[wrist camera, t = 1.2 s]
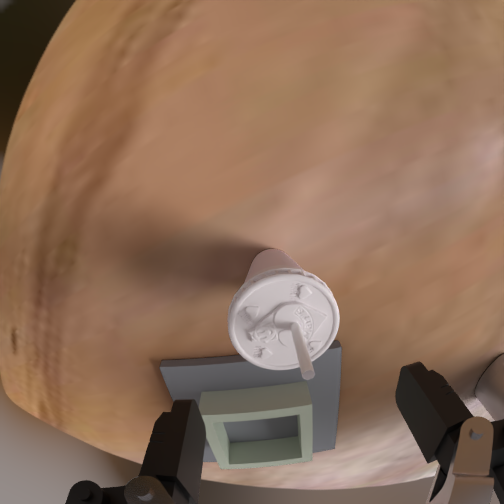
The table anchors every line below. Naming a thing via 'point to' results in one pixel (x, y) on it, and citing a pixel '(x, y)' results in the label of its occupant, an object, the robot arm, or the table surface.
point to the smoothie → (282, 315)
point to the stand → (260, 408)
